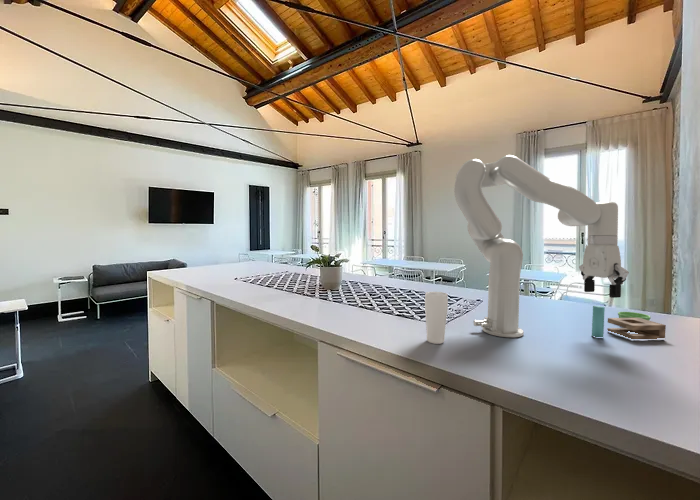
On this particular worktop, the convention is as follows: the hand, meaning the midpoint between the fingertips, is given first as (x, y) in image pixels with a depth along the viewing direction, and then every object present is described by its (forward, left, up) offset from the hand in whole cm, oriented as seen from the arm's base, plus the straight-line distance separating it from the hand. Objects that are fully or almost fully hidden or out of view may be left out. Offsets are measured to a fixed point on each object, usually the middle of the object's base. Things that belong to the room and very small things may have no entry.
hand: (601, 294), depth 104 cm
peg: (-1, 0, -14) cm, 14 cm away
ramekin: (+23, +12, -14) cm, 30 cm away
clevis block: (+11, 0, -14) cm, 18 cm away
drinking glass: (-55, -1, -14) cm, 56 cm away
